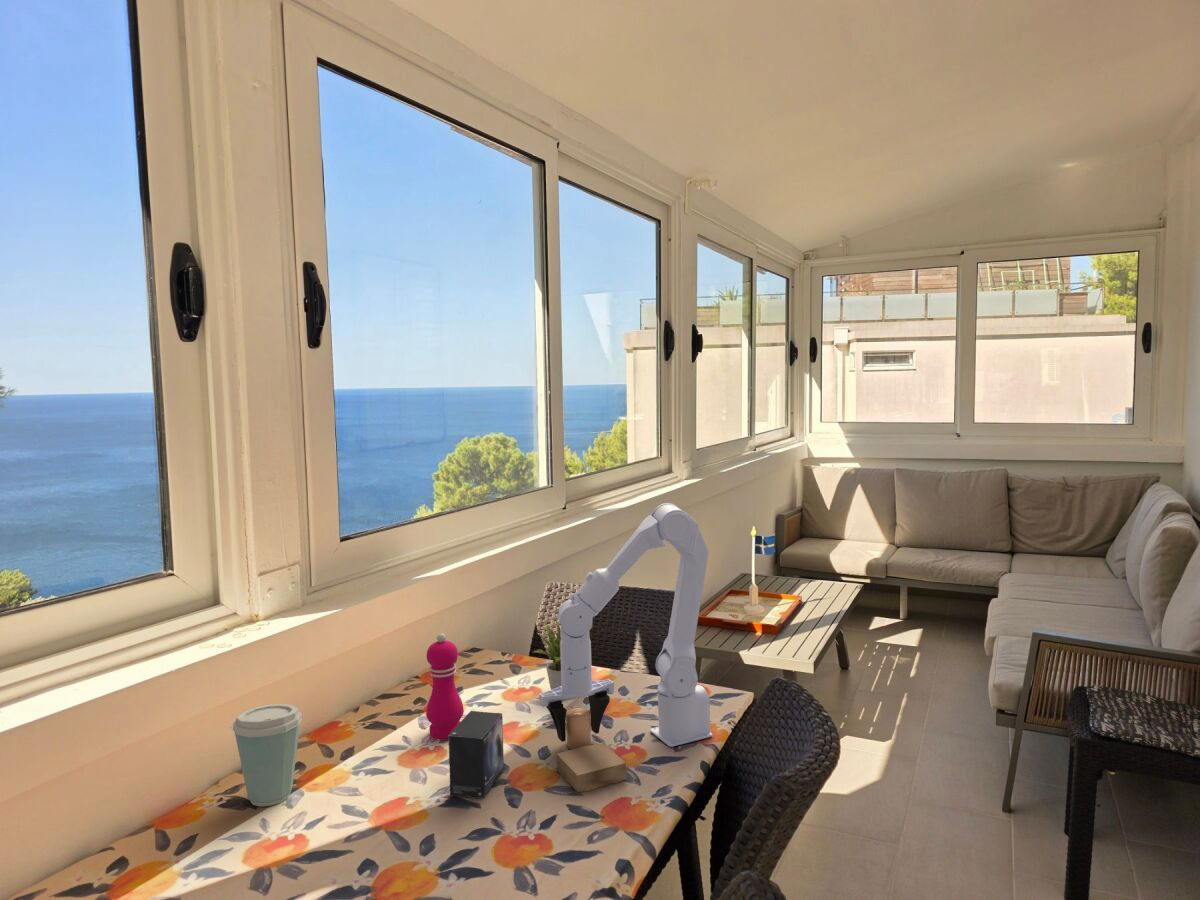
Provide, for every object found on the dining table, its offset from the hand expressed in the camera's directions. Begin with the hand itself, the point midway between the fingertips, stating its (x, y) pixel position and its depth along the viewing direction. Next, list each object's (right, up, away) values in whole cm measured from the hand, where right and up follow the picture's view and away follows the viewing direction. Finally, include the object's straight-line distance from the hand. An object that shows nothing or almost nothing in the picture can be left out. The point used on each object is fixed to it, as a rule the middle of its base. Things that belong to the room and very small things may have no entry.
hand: (578, 735), depth 148 cm
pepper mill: (-26, -2, +6) cm, 27 cm away
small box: (-17, -3, -13) cm, 22 cm away
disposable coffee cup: (-51, -5, -16) cm, 53 cm away
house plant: (-3, 0, +24) cm, 24 cm away
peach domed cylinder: (0, -2, 0) cm, 2 cm away
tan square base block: (+2, -3, -12) cm, 12 cm away
